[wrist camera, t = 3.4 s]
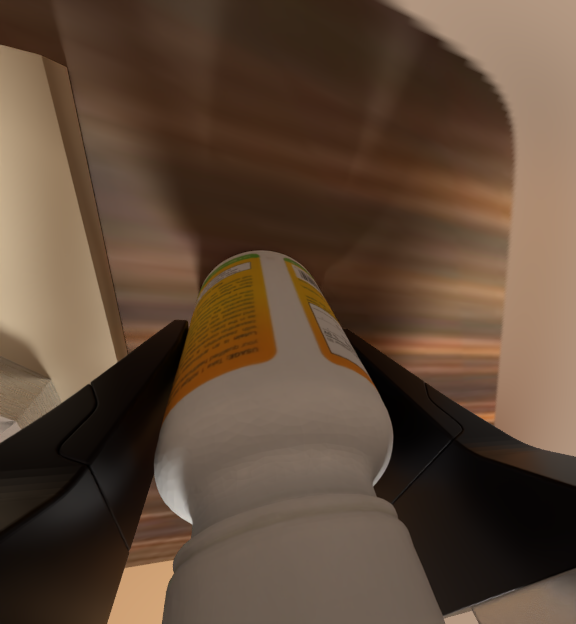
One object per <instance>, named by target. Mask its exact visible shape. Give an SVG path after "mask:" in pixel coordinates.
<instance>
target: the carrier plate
mask: <svg viewBox="0 0 576 624" xmlns="http://www.w3.org/2000/svg"><path fill="white" fill-rule="evenodd" d="M126 355H128V353H127V348H126V343H125V339H124V334H123V329H122V325H121V320H120V315H119V311H118V306H117V301H116V296H115V292H114V287H113V282H112V278H111V273H110V268H109V263H108V259H107V254H106V249H105V245H104V240H103V235H102V230H101V226H100V221H99V216H98V212H97V207H96V202H95V198H94V193H93V188H92V183H91V179H90V174H89V169H88V165H87V160H86V155H85V150H84V146H83V141H82V136H81V132H80V127H79V122H78V118H77V113H76V108H75V103H74V99H73V94H72V89H71V85H70V80H69V75H68V70H67V67H65V66H63V65H61V64H59V63H57V62H55V61H52V60H50V59H48V58H46V57H44V56H42V55H38V54H35V53H31V52H27V51H23V50H19V49H15V48H11V47H7V46H4V45H0V356H2V357H4V358H6V359H8V360H10V361H13V362H15V363H17V364H19V365H21V366H24V367H26V368H28V369H30V370H32V371H35V372H37V373H39V374H41V375H43V376H45V377H48V378H50V379H51V380H52V382H53V385H54V387H55V389H56V391H57V393H58V395H59V397H60V400H61V402H63V401H65V400H66V399H68V398H69V397H71V396H72V395H73V394H75V393H76V392H78V391H79V390H80V389H82V388H83V387H84V386H86V385H87V384H90V382H91V381H93V380H94V379H95V378H97V377H98V376H99V375H101V374H102V373H103V372H105V371H106V370H107V369H109V368H110V367H112V366H113V365H114V364H116V363H117V362H118V361H120V360H121V359H122V358H124V357H125V356H126ZM90 385H91V384H90Z"/></svg>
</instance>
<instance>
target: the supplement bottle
mask: <svg viewBox="0 0 576 624" xmlns="http://www.w3.org/2000/svg"><path fill="white" fill-rule="evenodd" d="M392 447H393V428H392V424H391V420H390V417H389V414H388V411H387V409H386V407H385V405H384V403H383V401H382V399H381V397H380V395H379V393H378V391H377V389H376V387H375V385H374V384H373V382H372V380H371V378H370V376H369V375H368V373H367V371H366V370H365V368H364V366H363V364H362V363H361V361H360V359H359V358H358V356H357V354H356V352H355V351H354V349H353V347H352V345H351V344H350V342H349V340H348V338H347V337H346V335H345V333H344V331H343V330H342V328H341V326H340V324H339V322H338V320H337V319H336V317H335V315H334V314H333V312H332V310H331V308H330V306H329V305H328V303H327V301H326V299H325V298H324V296H323V294H322V292H321V291H320V289H319V287H318V285H317V284H316V282H315V280H314V279H313V277H312V276H311V275H310V273H309V272H308V271H307V270H306V269H305V268H304V267H303V266H302V265H301V264H300V263H299V262H297V261H296V260H294V259H292V258H291V257H288V256H286V255H284V254H281V253H277V252H273V251H264V250H259V251H249V252H244V253H241V254H238V255H235V256H232V257H230V258H228V259H226V260H225V261H223V262H222V263H220V264H219V265H218V266H216V267H215V268H214V269H213V270H212V271H211V272H210V274H209V275H208V276H207V278H206V279H205V281H204V283H203V285H202V287H201V290H200V292H199V295H198V298H197V302H196V305H195V309H194V312H193V316H192V319H191V323H190V327H189V330H188V334H187V337H186V340H185V344H184V347H183V351H182V355H181V358H180V362H179V365H178V368H177V372H176V375H175V379H174V382H173V386H172V390H171V393H170V397H169V400H168V404H167V407H166V410H165V413H164V417H163V421H162V425H161V429H160V433H159V439H158V443H157V447H156V451H155V458H154V475H155V481H156V485H157V488H158V491H159V493H160V495H161V497H162V499H163V500H164V502H165V503H166V504H167V505H168V506H169V508H170V509H171V510H172V511H173V512H174V513H176V514H177V515H178V516H180V517H181V518H182V519H184V520H186V521H188V522H189V523H191V524H193V528H192V536H191V539H190V540H189V541H188V542H187V543H185V544H184V545H183V547H182V548H181V549H180V550H179V551H178V553H177V555H176V556H175V558H174V561H173V571H174V574H173V576H172V578H171V580H170V581H169V584H168V587H167V591H166V598H165V605H164V612H163V620H162V624H445V622H444V618H443V615H442V613H441V610H440V608H439V606H438V603H437V601H436V599H435V596H434V594H433V591H432V589H431V586H430V584H429V581H428V579H427V576H426V574H425V571H424V569H423V566H422V564H421V562H420V560H419V557H418V555H417V553H416V551H415V548H414V546H413V543H412V540H411V537H410V534H409V531H408V529H407V528H406V526H405V525H404V524H403V522H401V521H400V520H399V519H398V515H397V513H396V510H395V508H394V507H393V506H392V504H391V503H389V502H387V501H386V500H384V499H381V498H379V497H377V496H376V493H375V491H374V488H373V486H374V485H375V484H376V483H377V482H378V480H379V479H380V478H381V476H382V475H383V473H384V472H385V470H386V468H387V466H388V463H389V460H390V458H391V453H392Z"/></svg>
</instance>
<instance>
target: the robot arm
mask: <svg viewBox="0 0 576 624" xmlns="http://www.w3.org/2000/svg"><path fill="white" fill-rule="evenodd" d="M188 330H189V328H188V321H187V320H174V321H172V322H171V323H170V324H168V325H167V326H166V327H164V328H163V329H162V330H160V331H159V332H158V333H156V334H155V335H154V336H152V337H151V338H149V339H148V340H147V341H145V342H144V343H143V344H141V345H140V346H139V347H137V348H136V349H135V350H133V351H132V352H130V353H129V354H128V355H126V356H125V357H124V358H122V359H121V360H120V361H118V362H117V363H116V364H114V365H113V366H112V367H110V368H109V369H107V370H106V371H105V372H103V373H102V374H101V375H99V376H98V377H97V378H95V379H94V380H93V381H91V382H90V384H91V385H90V384H87V385H86V386H84V387H83V388H82V389H80V390H79V391H78V392H76V393H75V394H73V395H72V396H71V397H69V398H68V399H66V400H65V401H63V402H62V403H61V404H59V405H58V406H56V407H55V408H54V409H52V410H51V411H49V412H48V413H46V414H44V415H43V416H41V417H40V418H38V419H37V420H35V421H34V422H32V423H31V424H29V425H28V426H26V427H25V428H23V429H21V430H20V431H18V432H17V433H15V434H13V435H12V436H10V437H9V438H7V439H6V440H4V441H2V442H1V443H0V624H107V622H108V619H109V616H110V612H111V609H112V606H113V603H114V599H115V597H116V593H117V590H118V587H119V584H120V581H121V577H122V574H123V571H124V568H125V565H126V561H127V558H128V555H129V550H130V548H131V545H132V542H133V539H134V536H135V532H136V529H137V526H138V523H139V520H140V516H141V513H142V510H143V507H144V504H145V500H146V497H147V494H148V491H149V488H150V484H151V481H152V478H153V475H154V458H155V451H156V447H157V443H158V439H159V433H160V429H161V425H162V421H163V417H164V413H165V410H166V407H167V404H168V400H169V397H170V393H171V390H172V386H173V382H174V379H175V375H176V372H177V368H178V365H179V362H180V358H181V355H182V351H183V347H184V344H185V340H186V337H187V334H188ZM342 330H343V331H344V333H345V335H346V337H347V338H348V340H349V342H350V344H351V345H352V347H353V349H354V351H355V352H356V354H357V356H358V358H359V359H360V361H361V363H362V364H363V366H364V368H365V370H366V371H367V373H368V375H369V376H370V378H371V380H372V382H373V384H374V385H375V387H376V389H377V391H378V393H379V395H380V397H381V399H382V401H383V403H384V405H385V407H386V409H387V411H388V414H389V417H390V420H391V424H392V428H393V447H392V453H391V458H390V460H389V463H388V466H387V468H386V470H385V472H384V473H383V475H382V476H381V478H380V479H379V480H378V482H377V483H376V484H375V485H374V486H373V488H374V491H375V493H376V496H377V497H379V498H381V499H384V500H386V501H387V502H389V503H391V504H392V506H393V507H394V508H395V510H396V513H397V515H398V519H399V520H400V521H401V522H403V524H404V525H405V526H406V528H407V529H408V531H409V534H410V537H411V540H412V543H413V546H414V548H415V551H416V553H417V555H418V557H419V560H420V562H421V564H422V566H423V569H424V571H425V574H426V576H427V579H428V581H429V584H430V586H431V589H432V591H433V594H434V596H435V599H436V601H437V603H438V606H439V608H440V610H441V613H442V615H443V618H447V617H450V616H454V615H458V614H461V613H465V612H468V611H473V613H474V615H475V617H476V619H477V621H478V623H479V624H576V457H574V456H569V455H565V454H560V453H556V452H551V451H546V450H542V449H539V448H536V447H533V446H530V445H528V444H525V443H523V442H521V441H519V440H517V439H515V438H513V437H511V436H509V435H508V434H506V433H504V432H503V431H501V430H500V429H498V428H496V427H495V426H493V425H491V424H490V423H488V422H487V421H485V420H483V419H482V418H480V417H478V416H477V415H475V414H473V413H472V412H470V411H468V410H467V409H465V408H464V407H462V406H460V405H459V404H457V403H456V402H454V401H452V400H451V399H449V398H448V397H446V396H445V395H443V394H442V393H440V392H439V391H437V390H436V389H434V388H433V387H431V386H430V385H428V384H427V383H424V381H423V380H421V379H420V378H418V377H417V376H415V375H414V374H412V373H411V372H409V371H408V370H406V369H405V368H404V367H402V366H401V365H399V364H398V363H396V362H395V361H393V360H392V359H390V358H389V357H387V356H386V355H384V354H383V353H382V352H380V351H379V350H377V349H376V348H374V347H373V346H371V345H370V344H368V343H367V342H365V341H364V340H363V339H361V338H360V337H358V336H357V335H355V334H354V333H352V332H351V331H349V330H348V329H342Z"/></svg>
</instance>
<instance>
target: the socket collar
mask: <svg viewBox="0 0 576 624" xmlns="http://www.w3.org/2000/svg"><path fill="white" fill-rule="evenodd" d="M61 403H62V402H61V400H60V397H59V395H58V393H57V391H56V389H55V387H54V385H53V382H52V380H51V379H50V378H48V377H45V376H43V375H41V374H39V373H37V372H35V371H32V370H30V369H28V368H26V367H24V366H21V365H19V364H17V363H15V362H13V361H10V360H8V359H6V358H4V357H2V356H0V443H1V442H2V441H4V440H6V439H7V438H9V437H10V436H12V435H13V434H15V433H17V432H18V431H20V430H21V429H23V428H25V427H26V426H28V425H29V424H31V423H32V422H34V421H35V420H37V419H38V418H40V417H41V416H43V415H44V414H46V413H48V412H49V411H51V410H52V409H54V408H55V407H56V406H58V405H59V404H61Z"/></svg>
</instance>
